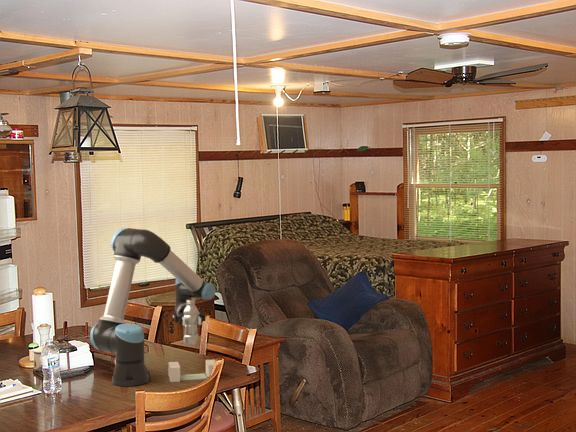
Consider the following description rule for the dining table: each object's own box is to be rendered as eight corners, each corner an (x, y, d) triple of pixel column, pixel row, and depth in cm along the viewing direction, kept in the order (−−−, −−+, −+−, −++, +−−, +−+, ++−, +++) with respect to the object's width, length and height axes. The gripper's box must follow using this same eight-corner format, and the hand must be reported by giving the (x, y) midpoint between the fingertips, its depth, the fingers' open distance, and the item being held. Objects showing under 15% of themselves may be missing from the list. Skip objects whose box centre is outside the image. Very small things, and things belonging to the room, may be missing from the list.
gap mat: (179, 375, 332) (179, 374, 332) (204, 374, 334) (204, 373, 334) (181, 380, 324) (181, 379, 324) (207, 379, 327) (207, 378, 327)
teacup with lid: (35, 367, 347) (35, 341, 347) (56, 366, 348) (56, 341, 348) (30, 374, 335) (29, 348, 335) (51, 373, 336) (51, 347, 336)
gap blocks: (168, 376, 332) (168, 362, 331) (214, 372, 336) (214, 359, 336) (170, 382, 322) (170, 367, 322) (218, 378, 327) (218, 364, 326)
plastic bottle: (184, 343, 341) (183, 298, 340) (199, 343, 341) (199, 298, 340) (182, 346, 335) (181, 300, 334) (197, 346, 335) (197, 300, 333)
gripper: (206, 319, 357) (214, 329, 335) (165, 321, 353) (170, 332, 330) (206, 303, 357) (214, 312, 334) (165, 305, 352) (170, 314, 330)
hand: (192, 322), depth 332 cm, fingers closed on plastic bottle, 6 cm apart
